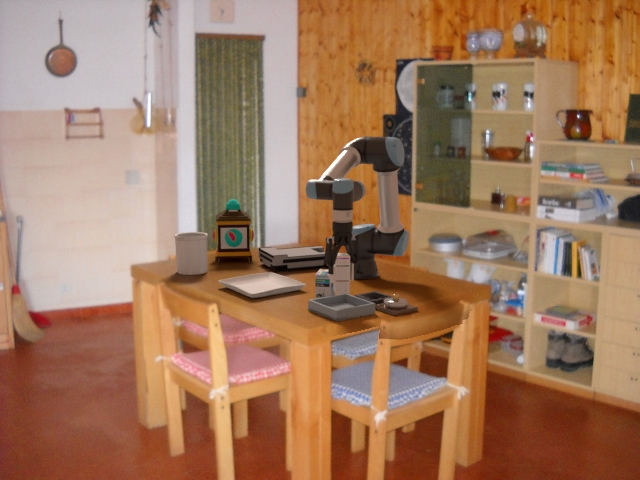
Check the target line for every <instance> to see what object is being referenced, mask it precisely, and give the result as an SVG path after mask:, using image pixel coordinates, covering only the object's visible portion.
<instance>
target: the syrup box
mask: <svg viewBox="0 0 640 480" xmlns="http://www.w3.org/2000/svg"><path fill="white" fill-rule="evenodd" d="M334 266H336V283H335V284H334V293H335V295H339V294H350V292H351V291H350V290H351V287H350V286H351V280H350V255H349V254H348V253H347V252H338V255H337V258H336V261H335V264H334ZM350 295H351V294H350Z"/></svg>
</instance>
